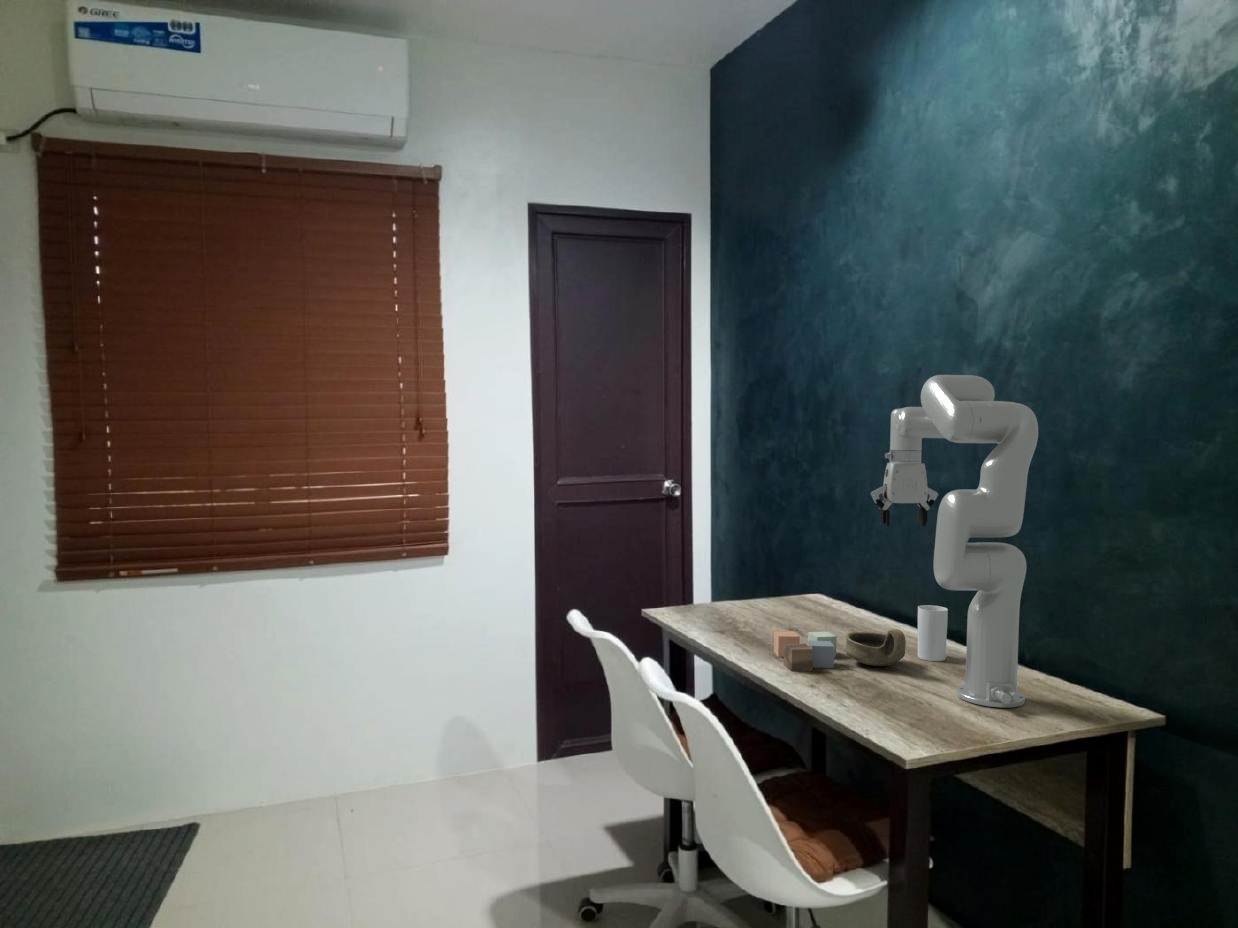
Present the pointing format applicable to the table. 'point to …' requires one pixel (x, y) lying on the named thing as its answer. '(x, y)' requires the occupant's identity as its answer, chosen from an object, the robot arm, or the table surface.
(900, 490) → the robot arm
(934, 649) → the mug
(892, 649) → the bowl
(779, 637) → the terracotta cube
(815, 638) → the sage cube
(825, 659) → the slate cube
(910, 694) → the table surface
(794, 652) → the walnut cube
